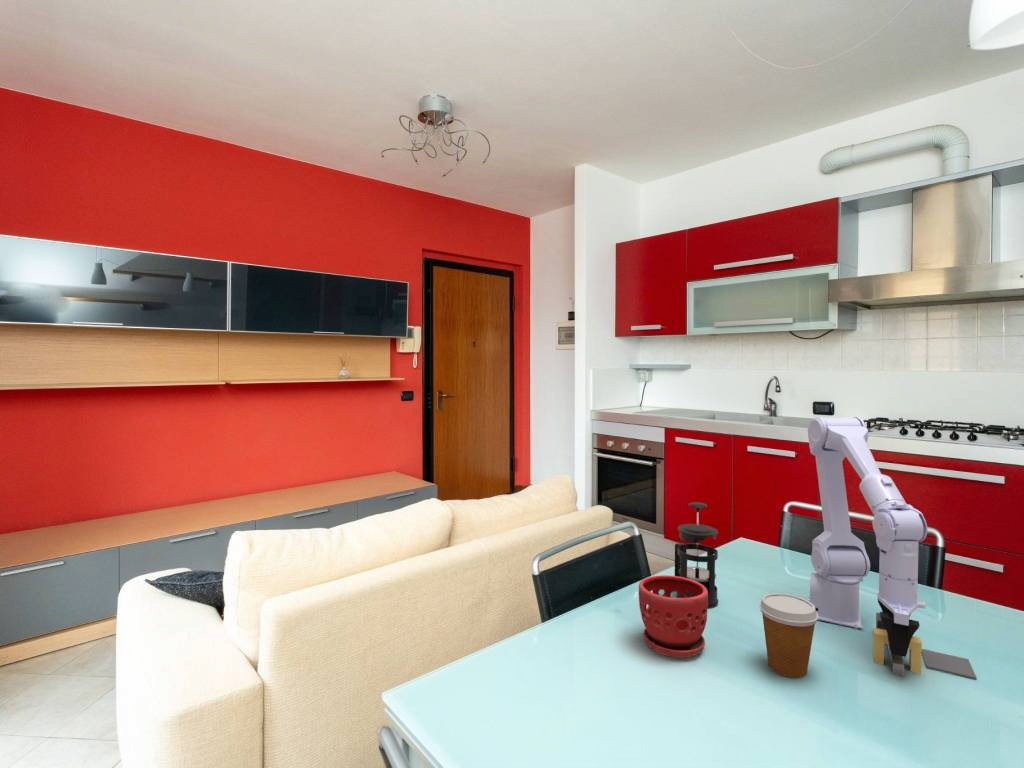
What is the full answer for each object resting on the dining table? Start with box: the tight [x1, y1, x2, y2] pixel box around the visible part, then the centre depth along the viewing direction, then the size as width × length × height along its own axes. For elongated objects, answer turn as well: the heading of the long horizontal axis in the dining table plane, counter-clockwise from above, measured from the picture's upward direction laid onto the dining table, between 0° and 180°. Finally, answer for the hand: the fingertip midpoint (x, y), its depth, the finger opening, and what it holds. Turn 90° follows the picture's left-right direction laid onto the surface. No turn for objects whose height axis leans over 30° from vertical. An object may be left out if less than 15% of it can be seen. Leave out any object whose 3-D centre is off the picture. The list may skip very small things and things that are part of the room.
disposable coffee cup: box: [758, 592, 818, 679], centre depth 96 cm, size 10×10×12 cm
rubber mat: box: [922, 648, 978, 681], centre depth 97 cm, size 7×7×1 cm
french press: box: [674, 501, 719, 610], centre depth 124 cm, size 12×9×23 cm
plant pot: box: [638, 574, 709, 658], centre depth 104 cm, size 13×13×12 cm
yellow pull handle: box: [872, 627, 923, 674], centre depth 97 cm, size 7×2×6 cm, turn 58°
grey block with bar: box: [875, 612, 905, 677], centre depth 101 cm, size 5×17×5 cm, turn 148°
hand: (896, 647), depth 97 cm, fingers open, 5 cm apart
